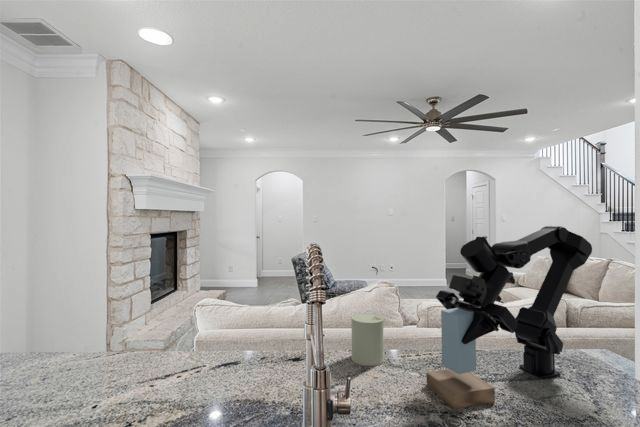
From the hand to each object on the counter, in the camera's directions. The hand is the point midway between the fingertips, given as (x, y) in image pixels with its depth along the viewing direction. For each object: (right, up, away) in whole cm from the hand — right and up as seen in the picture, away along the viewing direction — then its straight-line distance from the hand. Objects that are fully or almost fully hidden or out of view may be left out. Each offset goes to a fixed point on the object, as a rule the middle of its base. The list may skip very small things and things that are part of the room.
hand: (453, 338), depth 72 cm
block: (+1, -7, 0) cm, 7 cm away
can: (-17, -13, +18) cm, 28 cm away
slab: (+1, -12, 0) cm, 12 cm away
